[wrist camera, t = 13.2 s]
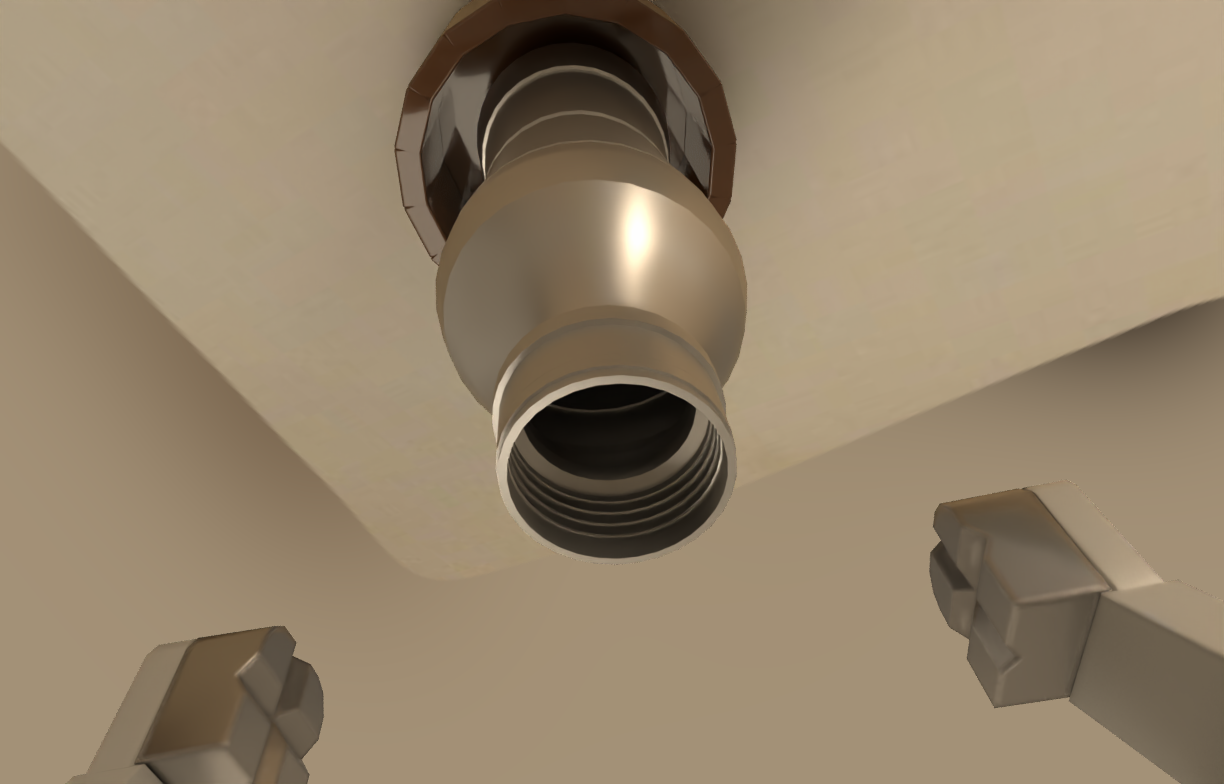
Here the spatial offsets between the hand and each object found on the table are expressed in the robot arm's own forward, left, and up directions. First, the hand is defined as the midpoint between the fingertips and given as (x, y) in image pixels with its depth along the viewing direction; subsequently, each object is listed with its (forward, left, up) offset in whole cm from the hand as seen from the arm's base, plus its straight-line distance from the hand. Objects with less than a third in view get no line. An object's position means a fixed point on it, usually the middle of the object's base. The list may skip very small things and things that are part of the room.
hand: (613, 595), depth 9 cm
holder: (0, 0, -23) cm, 23 cm away
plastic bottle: (0, 0, -22) cm, 22 cm away
